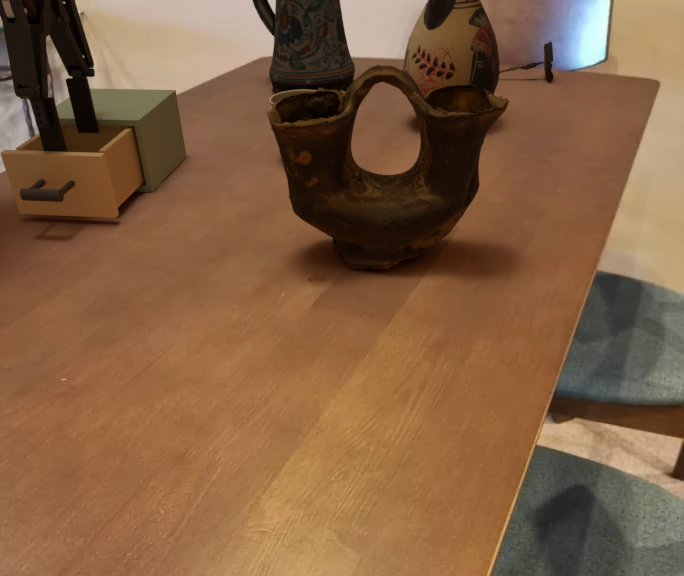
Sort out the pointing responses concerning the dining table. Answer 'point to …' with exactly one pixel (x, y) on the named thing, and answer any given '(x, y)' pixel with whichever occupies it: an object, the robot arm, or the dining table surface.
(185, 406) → the dining table surface
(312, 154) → the pottery vessel
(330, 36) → the beer stein
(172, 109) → the cabinet
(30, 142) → the drawer
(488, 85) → the ceramic jug
